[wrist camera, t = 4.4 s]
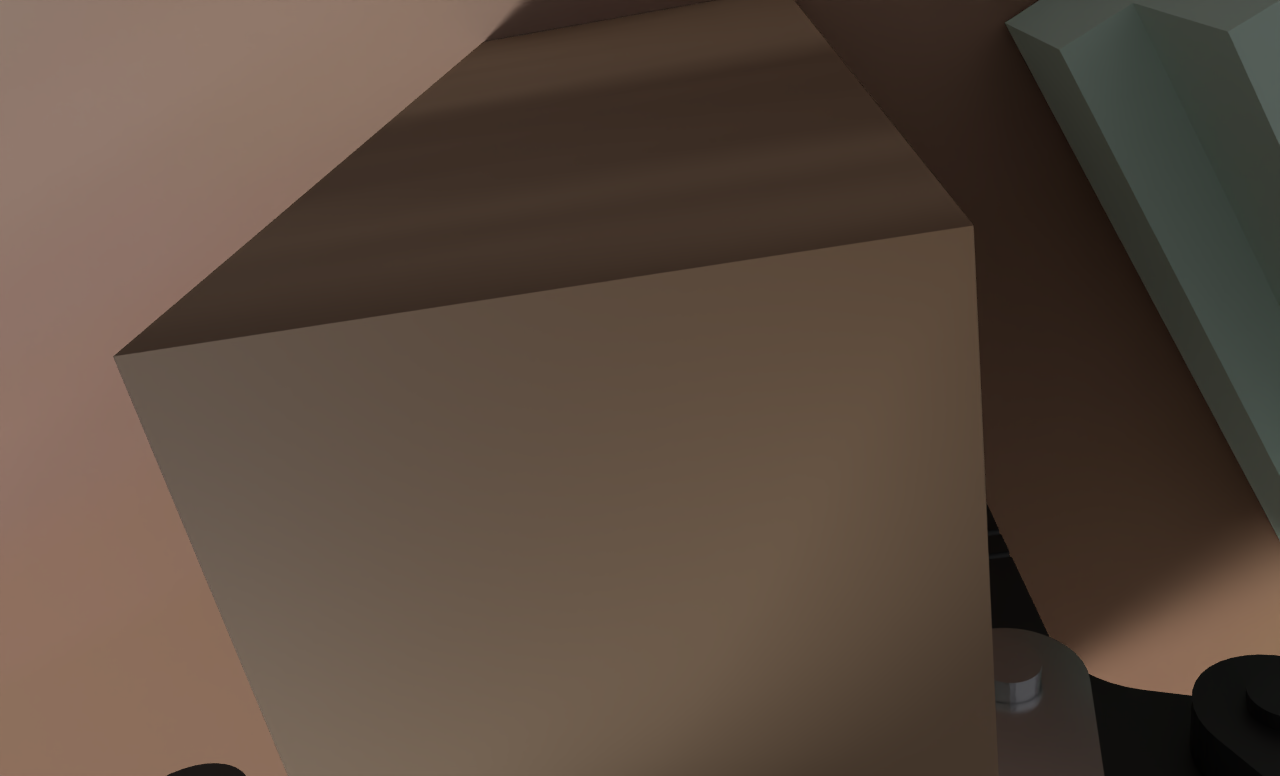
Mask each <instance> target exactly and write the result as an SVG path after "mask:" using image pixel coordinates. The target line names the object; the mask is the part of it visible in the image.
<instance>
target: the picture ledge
mask: <svg viewBox="0 0 1280 776" xmlns="http://www.w3.org/2000/svg"><path fill="white" fill-rule="evenodd" d="M1005 24H1006V26H1007V28H1008V30H1009V32H1010V34H1011V35H1012V37H1013V39H1014V41H1015V43H1016V45H1017V47H1018V49H1019V50H1020V52H1021V54H1022V56H1023V58H1024V60H1025V62H1026V64H1027V66H1028V67H1029V69H1030V71H1031V73H1032V75H1033V77H1034V79H1035V81H1036V82H1037V84H1038V86H1039V88H1040V90H1041V92H1042V94H1043V96H1044V98H1045V99H1046V101H1047V103H1048V105H1049V107H1050V109H1051V111H1052V113H1053V114H1054V116H1055V118H1056V120H1057V122H1058V124H1059V126H1060V128H1061V130H1062V131H1063V133H1064V135H1065V137H1066V139H1067V141H1068V143H1069V145H1070V146H1071V148H1072V150H1073V152H1074V154H1075V156H1076V158H1077V160H1078V162H1079V163H1080V165H1081V167H1082V169H1083V171H1084V173H1085V175H1086V177H1087V178H1088V180H1089V182H1090V184H1091V186H1092V188H1093V190H1094V192H1095V194H1096V195H1097V197H1098V199H1099V201H1100V203H1101V205H1102V207H1103V209H1104V210H1105V212H1106V214H1107V216H1108V218H1109V220H1110V222H1111V224H1112V226H1113V227H1114V229H1115V231H1116V233H1117V235H1118V237H1119V239H1120V241H1121V242H1122V244H1123V246H1124V248H1125V250H1126V252H1127V254H1128V256H1129V258H1130V259H1131V261H1132V263H1133V265H1134V267H1135V269H1136V271H1137V273H1138V274H1139V276H1140V278H1141V280H1142V282H1143V284H1144V286H1145V288H1146V290H1147V291H1148V293H1149V295H1150V297H1151V299H1152V301H1153V303H1154V305H1155V306H1156V308H1157V310H1158V312H1159V314H1160V316H1161V318H1162V320H1163V322H1164V323H1165V325H1166V327H1167V329H1168V331H1169V333H1170V335H1171V337H1172V338H1173V340H1174V342H1175V344H1176V346H1177V348H1178V350H1179V352H1180V354H1181V355H1182V357H1183V359H1184V361H1185V363H1186V365H1187V367H1188V369H1189V370H1190V372H1191V374H1192V376H1193V378H1194V380H1195V382H1196V384H1197V385H1198V387H1199V389H1200V391H1201V393H1202V395H1203V397H1204V399H1205V401H1206V402H1207V404H1208V406H1209V408H1210V410H1211V412H1212V414H1213V416H1214V417H1215V419H1216V421H1217V423H1218V425H1219V427H1220V429H1221V431H1222V433H1223V434H1224V436H1225V438H1226V440H1227V442H1228V444H1229V446H1230V448H1231V449H1232V451H1233V453H1234V455H1235V457H1236V459H1237V461H1238V463H1239V465H1240V466H1241V468H1242V470H1243V472H1244V474H1245V476H1246V478H1247V480H1248V481H1249V483H1250V485H1251V487H1252V489H1253V491H1254V493H1255V495H1256V497H1257V498H1258V500H1259V502H1260V504H1261V506H1262V508H1263V510H1264V512H1265V513H1266V515H1267V517H1268V519H1269V521H1270V523H1271V525H1272V527H1273V529H1274V530H1275V532H1276V534H1277V536H1278V538H1279V540H1280V0H1039V1H1038V2H1036V3H1034V4H1033V5H1031V6H1030V7H1028V8H1027V9H1025V10H1024V11H1022V12H1021V13H1019V14H1018V15H1016V16H1014V17H1013V18H1011V19H1010V20H1008V21H1007V22H1005Z"/></svg>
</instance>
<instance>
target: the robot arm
mask: <svg viewBox="0 0 1280 776" xmlns="http://www.w3.org/2000/svg"><path fill="white" fill-rule="evenodd" d="M986 509H987V531H988V553H989V575H990V597H991V619H992V641H993V663H994V685H995V708H996V730H997V752H998V774H999V776H1280V656H1276V655H1245V656H1239V657H1234V658H1230V659H1227V660H1224V661H1220V662H1218V663H1216V664H1214V665H1212V666H1211V667H1209V668H1208V669H1206V670H1205V671H1204V672H1203V673H1202V674H1201V675H1200V676H1199V677H1198V679H1197V680H1196V682H1195V684H1194V687H1193V690H1192V696H1189V695H1181V694H1173V693H1164V692H1156V691H1148V690H1140V689H1134V688H1128V687H1124V686H1120V685H1117V684H1113V683H1110V682H1107V681H1104V680H1102V679H1099V678H1096V677H1094V676H1092V675H1090V674H1088V670H1087V668H1086V667H1085V665H1084V663H1083V661H1082V660H1081V659H1080V658H1079V657H1078V656H1077V655H1076V653H1074V652H1073V651H1072V650H1071V649H1069V648H1068V647H1067V646H1065V645H1064V644H1062V643H1060V642H1059V641H1057V640H1055V639H1053V638H1050V637H1049V635H1048V633H1047V631H1046V629H1045V627H1044V625H1043V622H1042V620H1041V618H1040V616H1039V614H1038V612H1037V610H1036V608H1035V605H1034V603H1033V601H1032V599H1031V597H1030V595H1029V593H1028V591H1027V588H1026V586H1025V584H1024V582H1023V580H1022V578H1021V576H1020V573H1019V571H1018V569H1017V567H1016V565H1015V563H1014V561H1013V559H1012V557H1010V555H1009V550H1008V548H1007V546H1006V544H1005V542H1004V539H1003V537H1002V535H1001V534H999V529H998V527H997V524H996V522H995V520H994V518H993V516H992V514H991V512H990V510H989V507H988V505H987V503H986ZM167 776H246V775H245V774H244V773H243V772H242V771H240V770H239V769H237V768H236V767H233V766H230V765H226V764H219V763H211V764H201V765H195V766H192V767H188V768H184V769H181V770H179V771H176V772H174V773H171V774H169V775H167Z"/></svg>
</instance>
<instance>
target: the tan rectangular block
mask: <svg viewBox="0 0 1280 776" xmlns="http://www.w3.org/2000/svg"><path fill="white" fill-rule="evenodd" d="M113 357H114V360H115V362H116V364H117V367H118V369H119V372H120V374H121V376H122V379H123V381H124V384H125V386H126V388H127V391H128V393H129V396H130V398H131V400H132V403H133V405H134V408H135V410H136V412H137V415H138V417H139V420H140V422H141V424H142V427H143V429H144V432H145V434H146V436H147V439H148V441H149V444H150V446H151V448H152V451H153V453H154V456H155V458H156V460H157V463H158V465H159V468H160V470H161V472H162V475H163V477H164V480H165V482H166V484H167V487H168V489H169V492H170V494H171V496H172V499H173V501H174V504H175V506H176V508H177V511H178V513H179V516H180V518H181V520H182V523H183V525H184V528H185V530H186V532H187V535H188V537H189V540H190V542H191V544H192V547H193V549H194V552H195V554H196V556H197V559H198V561H199V564H200V566H201V568H202V571H203V573H204V576H205V578H206V580H207V583H208V585H209V588H210V590H211V592H212V595H213V597H214V600H215V602H216V604H217V607H218V609H219V612H220V614H221V616H222V619H223V621H224V624H225V626H226V628H227V631H228V633H229V636H230V638H231V640H232V643H233V645H234V648H235V650H236V652H237V655H238V657H239V660H240V662H241V664H242V667H243V669H244V672H245V674H246V676H247V679H248V681H249V684H250V686H251V688H252V691H253V693H254V696H255V698H256V700H257V703H258V705H259V708H260V710H261V712H262V715H263V717H264V720H265V722H266V724H267V727H268V729H269V732H270V734H271V736H272V739H273V741H274V744H275V746H276V748H277V751H278V753H279V756H280V758H281V760H282V763H283V765H284V768H285V770H286V772H287V775H288V776H999V774H998V752H997V730H996V708H995V685H994V663H993V641H992V619H991V597H990V575H989V553H988V531H987V509H986V487H985V465H984V443H983V421H982V399H981V377H980V355H979V333H978V311H977V289H976V267H975V245H974V225H973V224H972V223H971V222H970V220H969V219H968V218H967V217H966V215H965V214H964V213H963V212H962V210H961V209H960V208H959V207H958V205H957V204H956V203H955V202H954V200H953V199H952V198H951V196H950V195H949V194H948V193H947V191H946V190H945V189H944V188H943V186H942V185H941V184H940V183H939V181H938V180H937V179H936V178H935V176H934V175H933V174H932V173H931V171H930V170H929V169H928V168H927V166H926V165H925V164H924V163H923V161H922V160H921V159H920V158H919V156H918V155H917V154H916V153H915V151H914V150H913V149H912V148H911V146H910V145H909V144H908V143H907V141H906V140H905V139H904V138H903V136H902V135H901V134H900V133H899V131H898V130H897V129H896V128H895V126H894V125H893V124H892V123H891V121H890V120H889V119H888V118H887V116H886V115H885V114H884V113H883V111H882V110H881V109H880V108H879V106H878V105H877V104H876V102H875V101H874V100H873V99H872V97H871V96H870V95H869V94H868V92H867V91H866V90H865V89H864V87H863V86H862V85H861V84H860V82H859V81H858V80H857V79H856V77H855V76H854V75H853V74H852V72H851V71H850V70H849V69H848V67H847V66H846V65H845V64H844V62H843V61H842V60H841V59H840V57H839V56H838V55H837V54H836V52H835V51H834V50H833V49H832V47H831V46H830V45H829V44H828V42H827V41H826V40H825V39H824V37H823V36H822V35H821V34H820V32H819V31H818V30H817V29H816V27H815V26H814V25H813V24H812V22H811V21H810V20H809V19H808V17H807V16H806V15H805V14H804V12H803V11H802V10H801V9H800V7H799V6H798V5H797V3H796V2H795V1H794V0H714V1H709V2H703V3H698V4H692V5H687V6H681V7H675V8H670V9H664V10H659V11H653V12H648V13H642V14H636V15H631V16H625V17H620V18H614V19H608V20H603V21H597V22H592V23H586V24H581V25H575V26H569V27H564V28H558V29H553V30H547V31H542V32H536V33H530V34H525V35H519V36H514V37H508V38H503V39H497V40H491V41H486V42H483V43H481V44H480V45H479V46H478V47H477V48H476V49H474V50H473V51H472V52H471V53H470V54H468V55H467V56H466V57H465V58H464V59H463V60H461V61H460V62H459V63H458V64H457V65H456V66H454V67H453V68H452V69H451V70H450V71H448V72H447V73H446V74H445V75H444V76H443V77H441V78H440V79H439V80H438V81H437V82H436V83H434V84H433V85H432V86H431V87H430V88H428V89H427V90H426V91H425V92H424V93H423V94H421V95H420V96H419V97H418V98H417V99H416V100H414V101H413V102H412V103H411V104H410V105H408V106H407V107H406V108H405V109H404V110H403V111H401V112H400V113H399V114H398V115H397V116H396V117H394V118H393V119H392V120H391V121H390V122H388V123H387V124H386V125H385V126H384V127H383V128H381V129H380V130H379V131H378V132H377V133H376V134H374V135H373V136H372V137H371V138H370V139H369V140H367V141H366V142H365V143H364V144H363V145H361V146H360V147H359V148H358V149H357V150H356V151H354V152H353V153H352V154H351V155H350V156H349V157H347V158H346V159H345V160H344V161H343V162H341V163H340V164H339V165H338V166H337V167H336V168H334V169H333V170H332V171H331V172H330V173H329V174H327V175H326V176H325V177H324V178H323V179H321V180H320V181H319V182H318V183H317V184H316V185H314V186H313V187H312V188H311V189H310V190H309V191H307V192H306V193H305V194H304V195H303V196H301V197H300V198H299V199H298V200H297V201H296V202H294V203H293V204H292V205H291V206H290V207H289V208H287V209H286V210H285V211H284V212H283V213H281V214H280V215H279V216H278V217H277V218H276V219H274V220H273V221H272V222H271V223H270V224H269V225H267V226H266V227H265V228H264V229H263V230H261V231H260V232H259V233H258V234H257V235H256V236H254V237H253V238H252V239H251V240H250V241H249V242H247V243H246V244H245V245H244V246H243V247H241V248H240V249H239V250H238V251H237V252H236V253H234V254H233V255H232V256H231V257H230V258H229V259H227V260H226V261H225V262H224V263H223V264H221V265H220V266H219V267H218V268H217V269H216V270H214V271H213V272H212V273H211V274H210V275H209V276H207V277H206V278H205V279H204V280H203V281H201V282H200V283H199V284H198V285H197V286H196V287H194V288H193V289H192V290H191V291H190V292H189V293H187V294H186V295H185V296H184V297H183V298H181V299H180V300H179V301H178V302H177V303H176V304H174V305H173V306H172V307H171V308H170V309H169V310H167V311H166V312H165V313H164V314H163V315H161V316H160V317H159V318H158V319H157V320H156V321H154V322H153V323H152V324H151V325H150V326H149V327H147V328H146V329H145V330H144V331H143V332H141V333H140V334H139V335H138V336H137V337H136V338H134V339H133V340H132V341H131V342H130V343H129V344H127V345H126V346H125V347H124V348H123V349H121V350H120V351H119V352H118V353H117V354H116V355H114V356H113Z"/></svg>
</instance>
